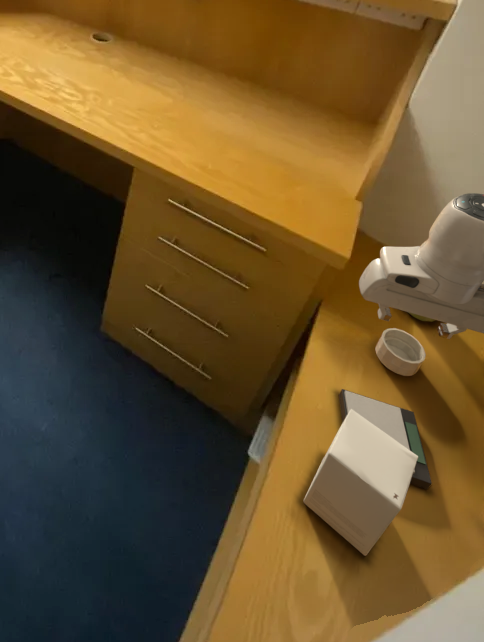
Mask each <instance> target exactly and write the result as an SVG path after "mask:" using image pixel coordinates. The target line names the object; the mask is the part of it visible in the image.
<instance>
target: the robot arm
mask: <svg viewBox="0 0 484 642" xmlns="http://www.w3.org/2000/svg"><path fill="white" fill-rule="evenodd" d="M358 287H359V292H360V295H361V296H362V298H363V299H364V300H365V301H368V302H372V303H375V304H378V307H379V308H378V309H377V316H378V319H379V320H382V321H386V322H390V320H391V318H392V317H393V316H392V313H391V309H390V308H392V309H395V310H400V311H403V312H406V313H408V312H410V313H413V314H417V315H420V316H424V317H427V318H431V319H434V320H435V321H438V322H440V323H439V325H438V326H437V333H438V336H439V337H441V338H444V339H448V340H451V339H452V337H453V336H454V335H458V334H460V333H464V332H466V331H467V330H470V331H473V332H477V333H480V334H484V194H483V193H477V192H469V193H468V192H467V193H463V194H460V195H457V196H456V197H454V198H453V199H451V200H450V201H449V202H448V203H447V204H446V205H445V206H444V207H443V209H442V210H441V211H440V212H439V214H438V215H437V217H436V218H435V220H434V222H433V223H432V225H431V226H430V229H429V231H428V238H427V239H426V240H425V241H424V242H422V243H421V245H417V246H390V245H389V246H383V247H381V248H380V250H379V257H378V258H375V259H373V260H371V262H369V264H367V266H366V267H365V269H364V270H363V272H362V274H361V275H360V277H359V280H358Z"/></svg>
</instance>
